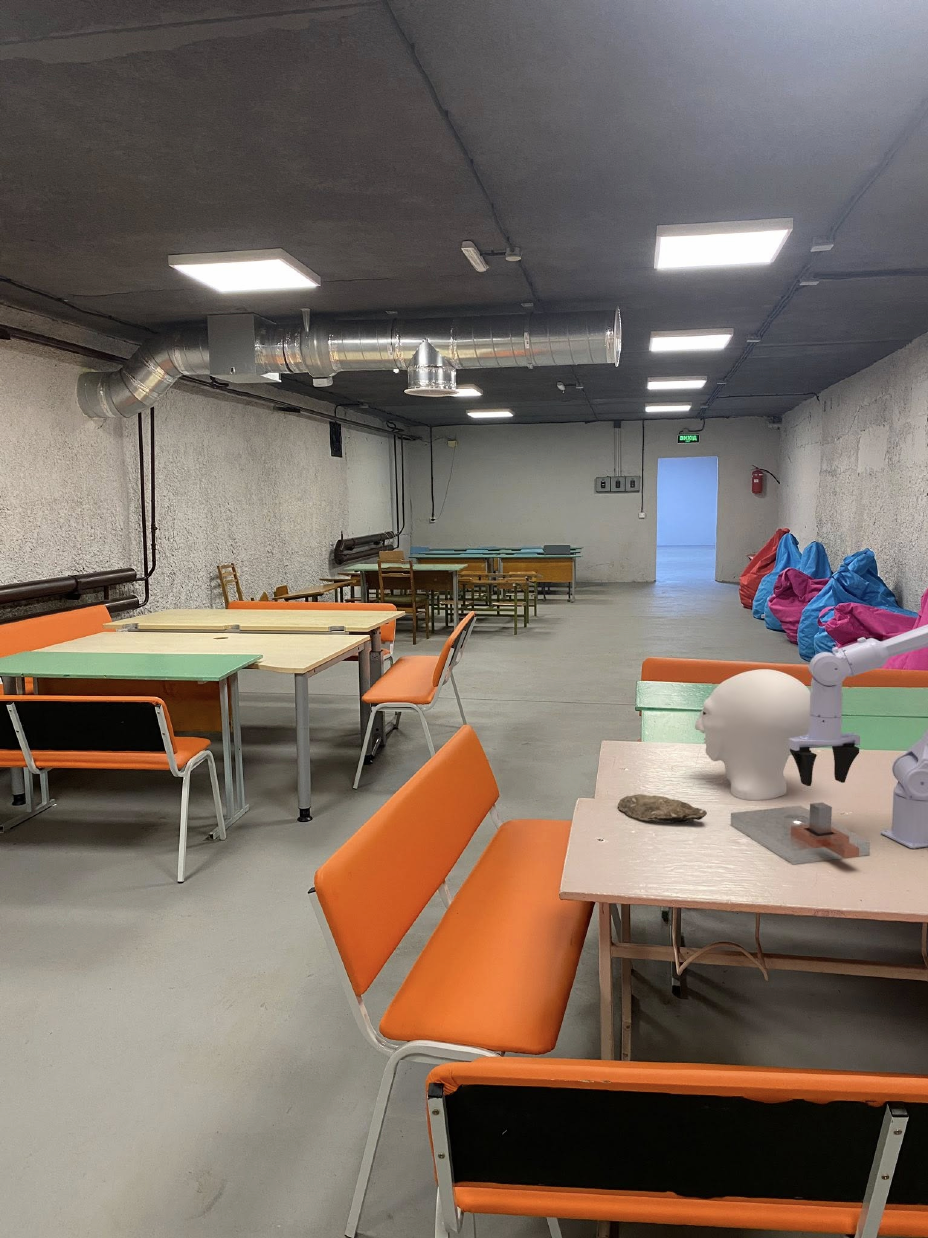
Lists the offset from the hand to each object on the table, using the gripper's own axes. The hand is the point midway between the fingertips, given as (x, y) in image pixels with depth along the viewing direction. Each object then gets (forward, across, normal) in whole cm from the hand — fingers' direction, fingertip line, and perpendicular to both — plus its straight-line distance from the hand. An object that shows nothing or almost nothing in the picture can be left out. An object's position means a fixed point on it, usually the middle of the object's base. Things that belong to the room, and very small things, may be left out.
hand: (823, 783), depth 156 cm
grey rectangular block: (+10, +7, +9) cm, 15 cm away
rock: (+10, +27, -16) cm, 33 cm away
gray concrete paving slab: (+10, +7, +5) cm, 13 cm away
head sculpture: (+10, -2, -27) cm, 29 cm away
